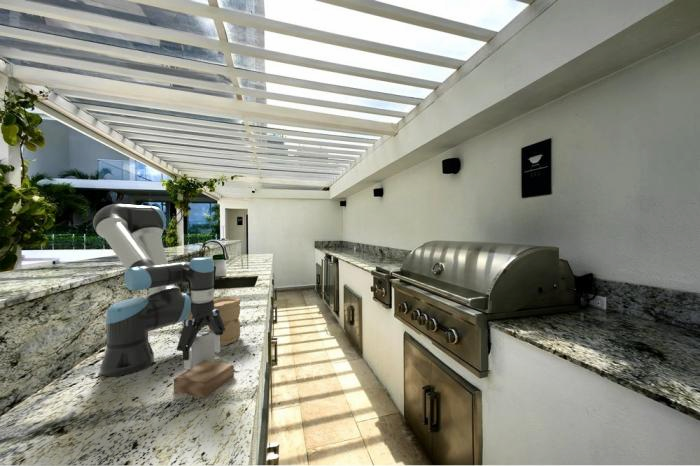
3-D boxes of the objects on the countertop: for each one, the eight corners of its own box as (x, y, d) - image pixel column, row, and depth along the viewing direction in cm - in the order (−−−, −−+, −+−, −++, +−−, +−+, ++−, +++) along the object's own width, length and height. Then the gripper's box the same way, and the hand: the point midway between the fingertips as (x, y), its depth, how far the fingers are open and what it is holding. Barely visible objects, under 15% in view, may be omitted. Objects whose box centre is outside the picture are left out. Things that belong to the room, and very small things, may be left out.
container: (225, 348, 113) (225, 305, 113) (202, 344, 117) (201, 302, 117) (246, 337, 125) (246, 297, 125) (224, 333, 129) (224, 295, 129)
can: (204, 371, 95) (204, 337, 94) (186, 369, 96) (185, 335, 96) (219, 361, 102) (219, 329, 102) (201, 359, 103) (201, 328, 103)
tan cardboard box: (173, 391, 83) (173, 377, 83) (204, 371, 94) (204, 359, 94) (206, 398, 80) (205, 383, 80) (234, 376, 91) (233, 364, 91)
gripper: (181, 311, 86) (182, 378, 86) (234, 293, 109) (234, 346, 110) (163, 309, 88) (164, 375, 88) (218, 292, 111) (219, 344, 112)
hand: (203, 359), depth 99 cm, fingers open, 12 cm apart
